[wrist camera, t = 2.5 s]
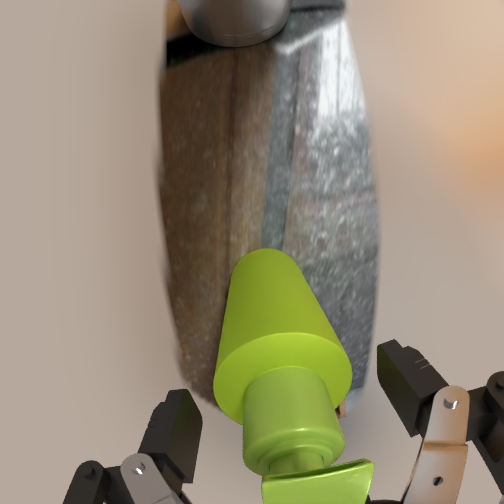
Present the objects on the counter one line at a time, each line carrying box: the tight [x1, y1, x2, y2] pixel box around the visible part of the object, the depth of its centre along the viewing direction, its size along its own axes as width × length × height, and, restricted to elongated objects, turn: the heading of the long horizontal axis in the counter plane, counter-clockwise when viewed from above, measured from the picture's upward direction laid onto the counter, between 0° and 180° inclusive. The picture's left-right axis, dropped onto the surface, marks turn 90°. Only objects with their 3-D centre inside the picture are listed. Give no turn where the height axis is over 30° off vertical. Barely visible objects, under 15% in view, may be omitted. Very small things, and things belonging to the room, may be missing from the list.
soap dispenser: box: [213, 248, 374, 504], centre depth 13 cm, size 6×7×20 cm
